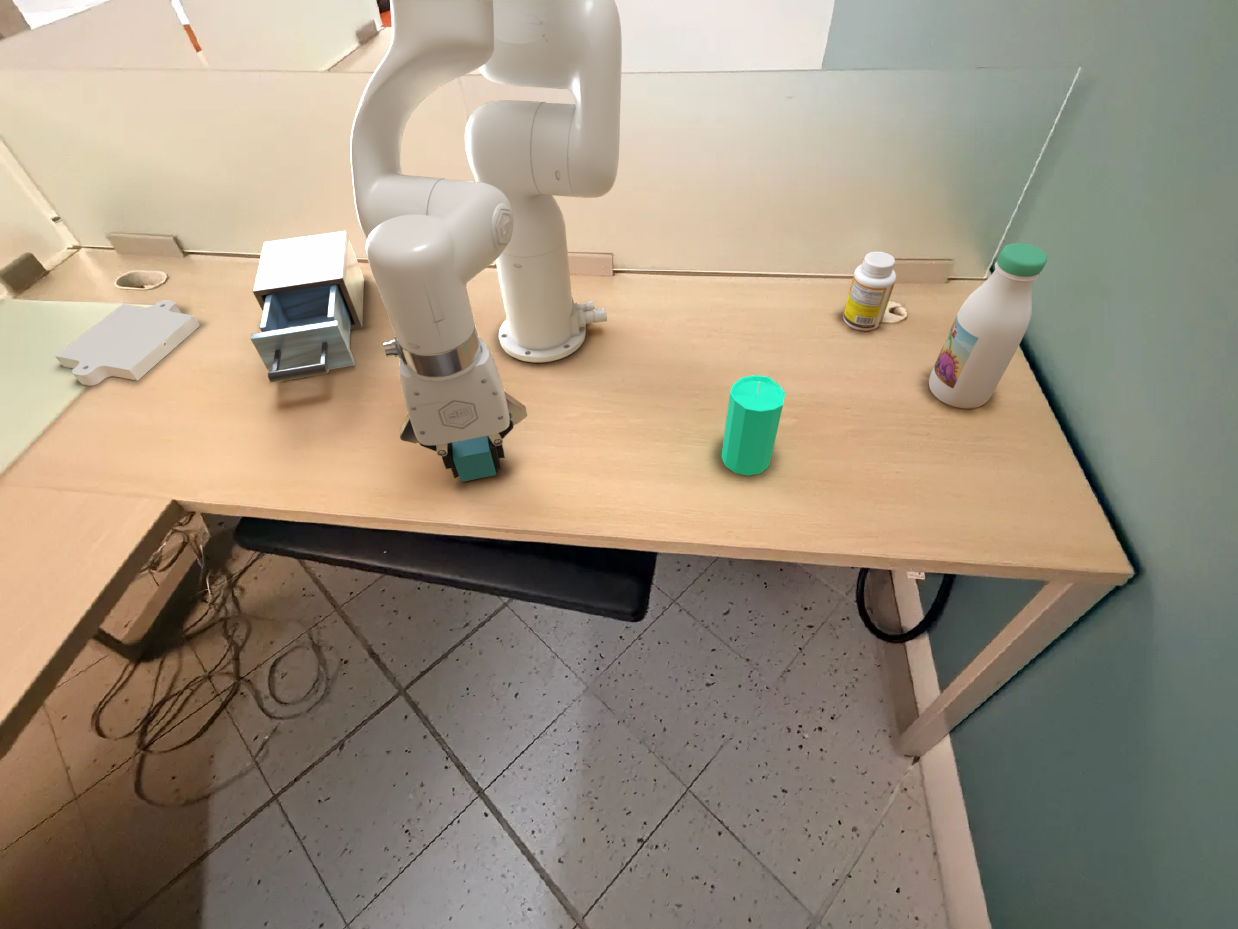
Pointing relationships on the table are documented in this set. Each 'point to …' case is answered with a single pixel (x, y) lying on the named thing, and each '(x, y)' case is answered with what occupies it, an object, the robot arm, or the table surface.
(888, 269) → the supplement bottle
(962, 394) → the milk bottle
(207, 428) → the table surface
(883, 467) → the table surface
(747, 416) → the candle
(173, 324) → the mounting plate
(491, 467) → the teal wooden cube
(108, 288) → the table surface
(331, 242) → the cabinet
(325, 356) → the drawer
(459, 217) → the robot arm
